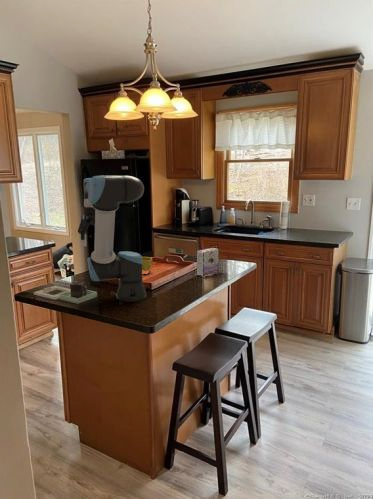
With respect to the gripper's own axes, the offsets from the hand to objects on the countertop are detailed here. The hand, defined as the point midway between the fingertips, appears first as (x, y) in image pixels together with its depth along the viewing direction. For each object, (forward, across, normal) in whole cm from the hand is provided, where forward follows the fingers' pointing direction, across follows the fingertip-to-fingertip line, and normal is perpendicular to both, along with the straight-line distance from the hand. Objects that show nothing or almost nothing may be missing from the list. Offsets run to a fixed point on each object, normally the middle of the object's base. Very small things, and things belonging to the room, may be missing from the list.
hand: (91, 246), depth 206 cm
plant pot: (+18, -38, +11) cm, 44 cm away
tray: (+26, +16, +3) cm, 31 cm away
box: (+26, +16, +3) cm, 30 cm away
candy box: (+19, -50, +49) cm, 73 cm away
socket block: (+24, +14, -13) cm, 31 cm away
